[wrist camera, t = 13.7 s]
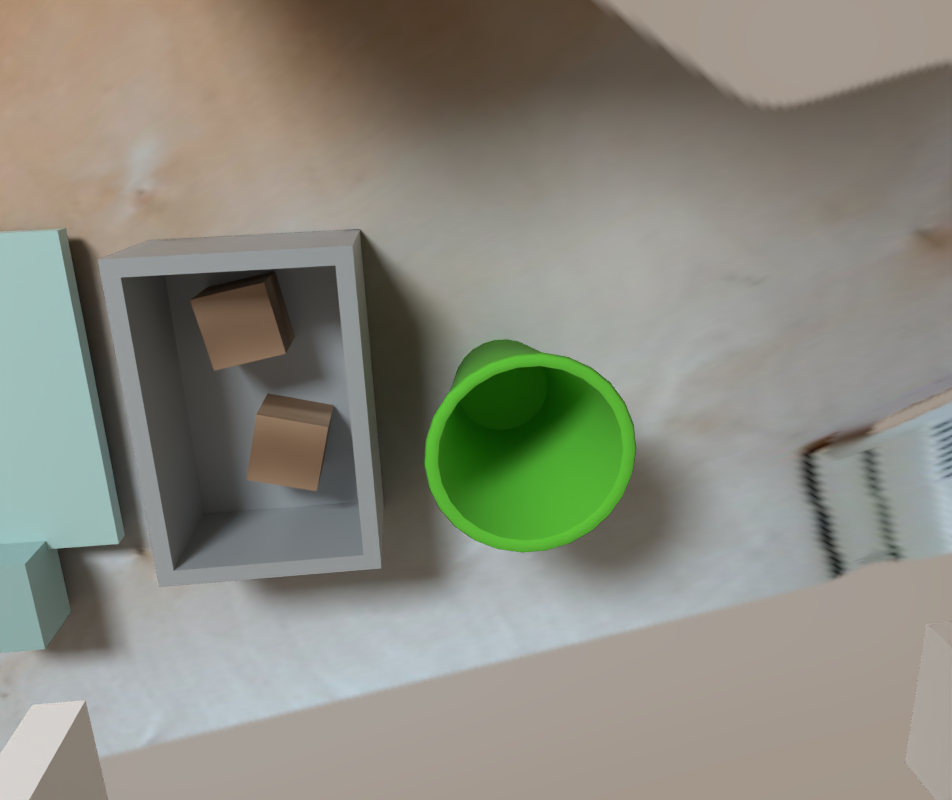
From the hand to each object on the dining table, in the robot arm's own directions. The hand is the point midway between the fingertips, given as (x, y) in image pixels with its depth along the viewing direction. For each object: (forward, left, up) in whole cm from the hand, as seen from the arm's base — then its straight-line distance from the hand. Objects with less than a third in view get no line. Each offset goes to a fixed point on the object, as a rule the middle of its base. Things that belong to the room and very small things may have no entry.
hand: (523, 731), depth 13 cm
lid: (+5, -24, -32) cm, 40 cm away
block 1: (-1, -9, -31) cm, 32 cm away
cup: (+4, +3, -32) cm, 32 cm away
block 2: (+6, -8, -31) cm, 32 cm away
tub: (+3, -9, -32) cm, 33 cm away
